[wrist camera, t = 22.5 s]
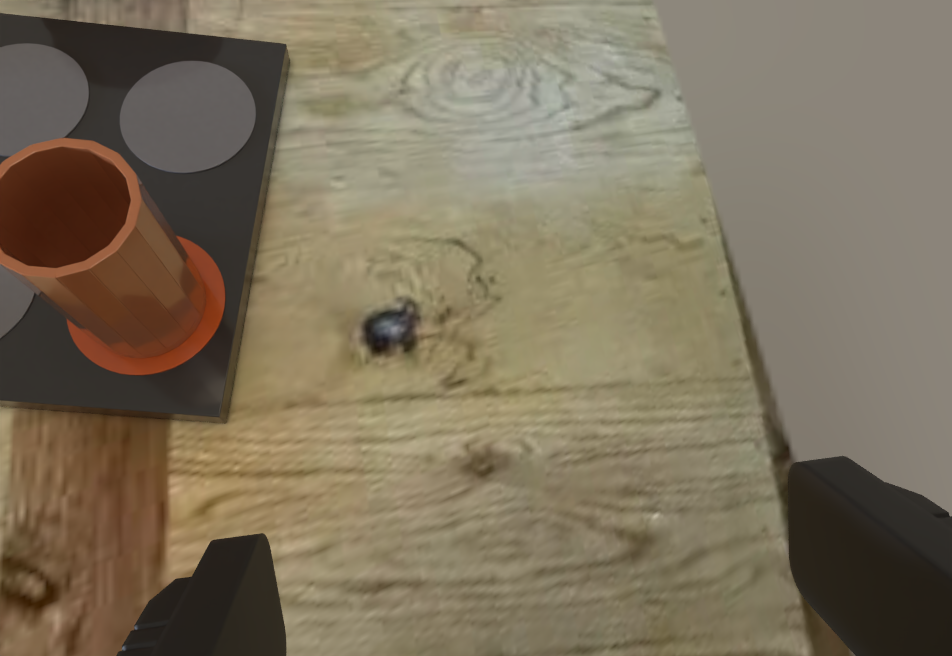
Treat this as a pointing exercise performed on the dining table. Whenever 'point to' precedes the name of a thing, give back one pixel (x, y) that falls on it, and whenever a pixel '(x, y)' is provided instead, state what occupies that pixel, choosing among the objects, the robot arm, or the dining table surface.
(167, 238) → the cup
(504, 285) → the dining table surface
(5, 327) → the stove
